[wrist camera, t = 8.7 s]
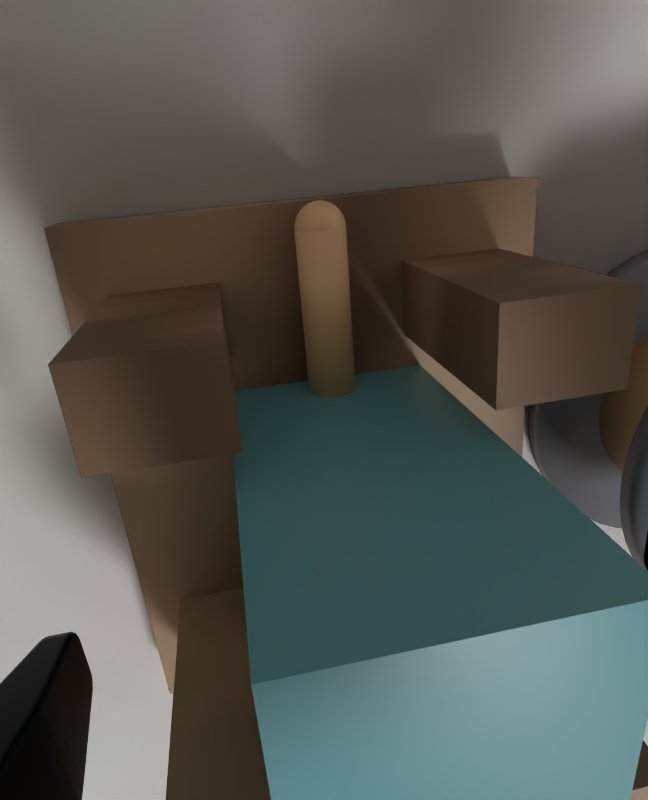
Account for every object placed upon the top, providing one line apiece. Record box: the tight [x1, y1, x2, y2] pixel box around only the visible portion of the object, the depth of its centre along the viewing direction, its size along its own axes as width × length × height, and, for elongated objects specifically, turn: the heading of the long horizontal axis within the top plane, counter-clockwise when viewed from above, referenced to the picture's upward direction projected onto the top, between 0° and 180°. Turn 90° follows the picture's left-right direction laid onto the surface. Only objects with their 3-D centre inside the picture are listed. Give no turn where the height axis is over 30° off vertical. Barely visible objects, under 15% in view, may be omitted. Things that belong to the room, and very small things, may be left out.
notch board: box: [44, 177, 648, 800], centre depth 10 cm, size 9×11×7 cm
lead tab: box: [233, 200, 648, 800], centre depth 8 cm, size 4×7×7 cm, turn 5°
